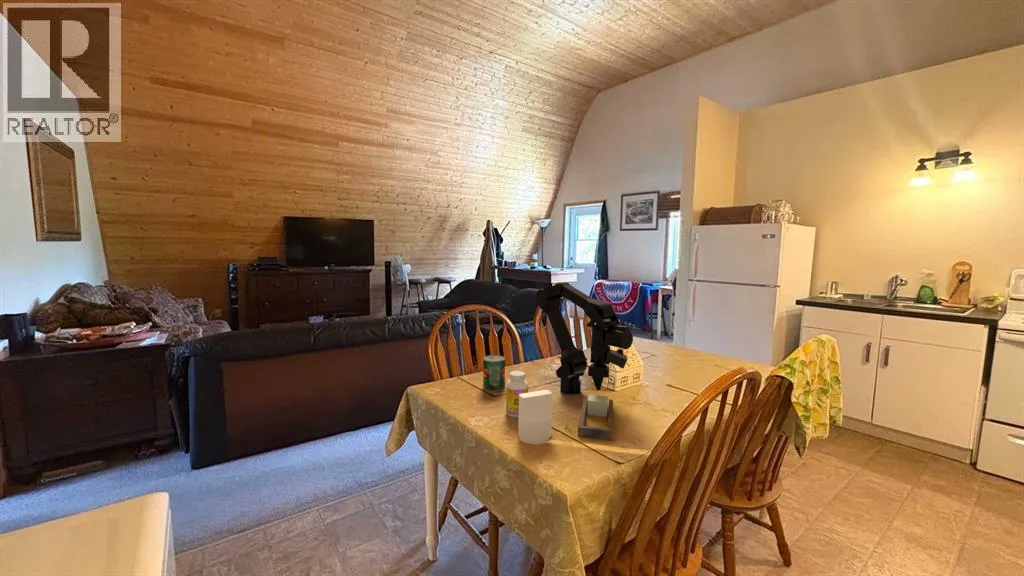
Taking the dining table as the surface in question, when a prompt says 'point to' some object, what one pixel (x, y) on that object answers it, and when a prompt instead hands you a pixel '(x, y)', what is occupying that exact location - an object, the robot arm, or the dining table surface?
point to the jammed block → (597, 405)
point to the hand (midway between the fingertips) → (598, 389)
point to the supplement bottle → (515, 392)
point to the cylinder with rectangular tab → (535, 417)
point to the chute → (594, 431)
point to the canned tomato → (494, 373)
